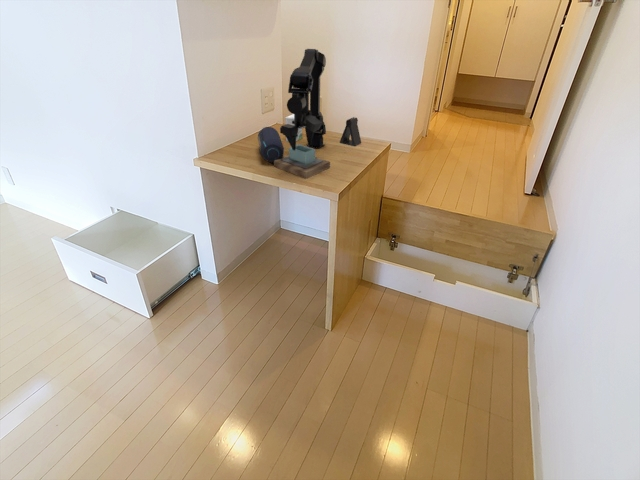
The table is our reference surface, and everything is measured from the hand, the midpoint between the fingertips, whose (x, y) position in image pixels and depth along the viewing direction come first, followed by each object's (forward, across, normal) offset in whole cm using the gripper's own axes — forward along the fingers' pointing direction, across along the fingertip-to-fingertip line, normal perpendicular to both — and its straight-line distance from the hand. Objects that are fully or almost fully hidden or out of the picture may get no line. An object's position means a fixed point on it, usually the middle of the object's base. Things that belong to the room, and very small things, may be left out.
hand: (301, 147), depth 144 cm
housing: (+6, 0, 0) cm, 6 cm away
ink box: (+9, +24, +27) cm, 37 cm away
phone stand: (+9, +39, +3) cm, 40 cm away
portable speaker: (+8, +1, +19) cm, 21 cm away
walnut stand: (+9, 0, 0) cm, 9 cm away
